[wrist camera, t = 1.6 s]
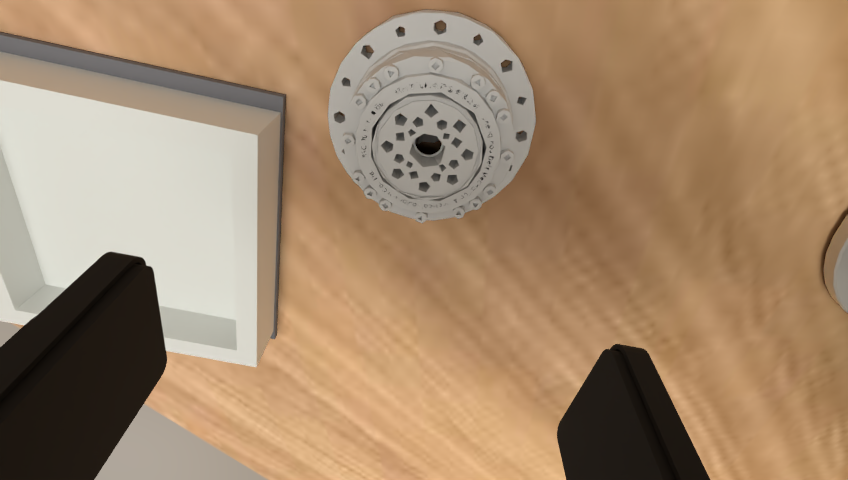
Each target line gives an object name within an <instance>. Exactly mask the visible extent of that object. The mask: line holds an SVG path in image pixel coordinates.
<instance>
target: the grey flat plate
mask: <svg viewBox="0 0 848 480" xmlns="http://www.w3.org/2000/svg"><path fill="white" fill-rule="evenodd" d="M0 52H5V53H10V54H14V55H19V56H23V57H28V58H33V59H37V60H42V61H46V62H51V63H56V64H60V65H65V66H69V67H74V68H79V69H83V70H88V71H92V72H97V73H102V74H106V75H111V76H115V77H120V78H125V79H129V80H134V81H138V82H143V83H148V84H152V85H157V86H161V87H166V88H170V89H175V90H180V91H184V92H189V93H193V94H198V95H203V96H207V97H212V98H216V99H221V100H226V101H230V102H235V103H239V104H244V105H249V106H253V107H258V108H262V109H267V110H272V111H276V112H281V119H280V149H279V180H278V211H277V241H276V272H275V303H274V331H273V333H272V335H271V337H270V338H271V339H275V338H276V335H277V312H278V286H279V260H280V233H281V207H282V181H283V155H284V128H285V102H286V95H284V94H280V93H275V92H271V91H266V90H262V89H257V88H253V87H248V86H243V85H239V84H234V83H230V82H225V81H221V80H216V79H212V78H207V77H203V76H198V75H193V74H189V73H184V72H180V71H175V70H171V69H166V68H162V67H157V66H153V65H148V64H143V63H139V62H134V61H130V60H125V59H121V58H116V57H112V56H107V55H103V54H98V53H94V52H89V51H84V50H80V49H75V48H71V47H66V46H62V45H57V44H53V43H48V42H44V41H39V40H34V39H30V38H25V37H21V36H16V35H12V34H7V33H3V32H0Z"/></svg>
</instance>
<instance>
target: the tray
mask: <svg viewBox="0 0 848 480" xmlns="http://www.w3.org/2000/svg"><path fill="white" fill-rule="evenodd" d="M280 119H281V112H276V111H272V110H267V109H262V108H258V107H253V106H249V105H244V104H239V103H235V102H230V101H226V100H221V99H216V98H212V97H207V96H203V95H198V94H193V93H189V92H184V91H180V90H175V89H170V88H166V87H161V86H157V85H152V84H148V83H143V82H138V81H134V80H129V79H125V78H120V77H115V76H111V75H106V74H102V73H97V72H92V71H88V70H83V69H79V68H74V67H69V66H65V65H60V64H56V63H51V62H46V61H42V60H37V59H33V58H28V57H23V56H19V55H14V54H10V53H5V52H0V321H4V322H9V323H15V324H20V325H25V324H27V323H28V322H29V321H30V320H31V319H33V318H34V317H35V316H37V315H38V314H39V313H40V312H41V311H42V310H44V309H45V308H46V307H47V306H48V305H49V304H50V303H51V302H52V301H53V300H54V299H56V298H57V297H58V296H59V295H60V294H61V293H62V292H63V291H64V290H65V289H66V288H67V287H69V286H70V285H71V284H72V283H73V282H74V281H75V280H76V279H77V278H78V277H79V276H81V275H82V274H83V273H84V272H85V271H86V270H87V269H88V268H89V267H90V266H91V265H93V264H94V263H95V262H96V261H97V260H98V259H99V258H100V257H101V256H102V255H104V254H105V253H107V252H116V253H122V254H127V255H133V256H138V257H142V258H143V259H144V260H145V262H146V266H150V267H152V268H153V271H154V277H155V283H156V290H157V296H158V303H159V309H160V316H161V322H162V329H163V335H164V342H165V348H166V351H169V352H175V353H181V354H186V355H192V356H197V357H203V358H208V359H214V360H219V361H225V362H230V363H236V364H241V365H247V366H252V367H257V365H258V363H259V361H260V359H261V357H262V355H263V352H264V350H265V348H266V346H267V344H268V342H269V340H270V337H271V335H272V333H273V331H274V303H275V272H276V241H277V211H278V180H279V149H280Z"/></svg>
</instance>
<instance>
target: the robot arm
mask: <svg viewBox="0 0 848 480" xmlns="http://www.w3.org/2000/svg"><path fill="white" fill-rule="evenodd" d="M823 271H824V278H825V285H826V287H827V289H828V291H829V293H830V295H831V297H832V298H833V299H834V300H835V301H836V302H837V303H838V304H839V305H840V306H841V307H842V308H843V309H844V310H845V311H846V312H847V313H848V215H847V216H846V217H845V219H844V220H843V222H842V223H841V225H840V226H839V228H838V229H837V231H836V232H835V234H834V235H833V238H832V240H831V243H830V245H829V247H828V250H827V252H826V257H825V263H824V269H823ZM166 363H167V355H166V348H165V342H164V335H163V329H162V322H161V316H160V309H159V303H158V296H157V290H156V283H155V277H154V271H153V268H152V267H150V266H146V262H145V260H144V259H143V258H142V257H138V256H133V255H127V254H122V253H116V252H107V253H105V254H104V255H102V256H101V257H100V258H99V259H98V260H97V261H96V262H95V263H94V264H93V265H91V266H90V267H89V268H88V269H87V270H86V271H85V272H84V273H83V274H82V275H81V276H79V277H78V278H77V279H76V280H75V281H74V282H73V283H72V284H71V285H70V286H69V287H67V288H66V289H65V290H64V291H63V292H62V293H61V294H60V295H59V296H58V297H57V298H56V299H54V300H53V301H52V302H51V303H50V304H49V305H48V306H47V307H46V308H45V309H44V310H42V311H41V312H40V313H39V314H38V315H37V316H35V317H34V318H33V319H31V320H30V321H29V322H28V323H27V324H25V325H24V326H23V327H22V328H21V329H20V330H19V331H18V332H17V333H16V334H15V335H14V336H12V337H11V338H10V339H9V340H8V341H7V342H6V343H5V344H4V345H3V346H2V347H0V480H94V479H95V477H96V476H97V474H98V473H99V471H100V470H101V468H102V466H103V465H104V464H105V462H106V461H107V459H108V457H109V456H110V454H111V453H112V451H113V449H114V448H115V446H116V445H117V444H118V442H119V441H120V439H121V438H122V436H123V434H124V433H125V431H126V430H127V428H128V427H129V425H130V424H131V422H132V421H133V419H134V418H135V416H136V415H137V413H138V411H139V410H140V408H141V407H142V405H143V404H144V402H145V401H146V399H147V398H148V396H149V395H150V393H151V391H152V390H153V388H154V387H155V385H156V384H157V382H158V381H159V379H160V378H161V376H162V374H163V372H164V370H165V367H166ZM557 438H558V444H559V448H560V453H561V457H562V462H563V466H564V471H565V475H566V480H710V478H709V476H708V474H707V472H706V470H705V468H704V466H703V464H702V462H701V460H700V458H699V456H698V454H697V452H696V450H695V448H694V446H693V443H692V441H691V439H690V437H689V435H688V433H687V431H686V429H685V427H684V425H683V423H682V421H681V419H680V417H679V415H678V413H677V411H676V409H675V407H674V405H673V403H672V401H671V399H670V397H669V394H668V392H667V390H666V388H665V386H664V384H663V382H662V380H661V378H660V376H659V374H658V372H657V370H656V368H655V366H654V364H653V362H652V360H651V358H650V356H649V354H648V353H647V351H646V350H644V349H642V348H637V347H631V346H626V345H620V344H615V345H613V346H612V347H611V349H610V350H609V349H606V350H604V351H603V352H602V354H601V355H600V357H599V359H598V360H597V362H596V364H595V365H594V367H593V369H592V370H591V372H590V374H589V375H588V377H587V378H586V380H585V382H584V383H583V385H582V387H581V388H580V390H579V392H578V393H577V395H576V397H575V398H574V400H573V402H572V403H571V405H570V406H569V408H568V410H567V411H566V413H565V415H564V416H563V418H562V420H561V421H560V423H559V426H558V431H557Z"/></svg>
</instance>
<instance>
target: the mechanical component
mask: <svg viewBox="0 0 848 480" xmlns="http://www.w3.org/2000/svg"><path fill="white" fill-rule="evenodd" d="M440 20H442V21H444V22H445V23H446V28H445V29H444V30H443V31H441V30H437V29H436V27H435V22H438V21H440ZM399 26H401V27H403V28H405V33H403V32H399V28H398V27H399ZM478 34H480V35H481V39H480V40H475V41H474V37H475V36H477V35H478ZM365 45H370V46H371V48H372V49H373V50H374V53H368V52H366V48H365ZM506 59H507V60H510V61H511V63H510V64H509V65H508V66H507V67H501V63H502V62H503V61H505V60H506ZM347 78H348V79H350V81H349V80H347ZM519 96H520V97H522V98H519ZM339 111H340V112H342V113H343V114H345V117H344V116H343V115H341V114H339ZM400 113H401V114H402V115H403V116H400ZM458 120H461V121H458ZM328 121H329V130H330V137H331V140H332V143H333V146H334V149H335V152H336V155H337V157H338V158H339V160H340V162H341V163H342V165H343V167H344V169H345V170H346V172H347V173H348V174H349V176H350V177H351V178H352V180H353V181H354V182H355V183H356V184H358V186H359V187H360V188H361V189H362V190H363V191H364V194H365V196H366V198H368V199H373V200H374V201H376V202H377V203H379V207H380V208H381V210H384V211H388V210H389V211H390V212H393V213H396V214H399V215H402V216H405V217H408V218H412V219H416V221H417V222H420V223H423V222H425V221H426V220H433V221H434V220H440V219H447V218H453V217H456V218H458V219H459V218H463V216H464V214H465V213H466V212H469V211H471V210H478V209H479V208H481V205H482V203H484V202H486V201H488V200H489V199H491V198H493V197H494V196H495V195H497V194H498V193H499V192H500V191H501V190H502V189H503V188H504V187H505V186H506V185H508V184H509V183H510V182H511V181H512V180H513V178H514V177H515V175H516V173H517V172H518V170H519V168H520V167H521V165H522V164H523V162H524V160H525V159H526V157H527V155H528V152H529V148H530V144H531V140H532V136H533V132H534V128H535V124H536V116H535V106H534V96H533V89H532V86H531V84H530V81H529V79H528V76H527V74H526V71H525V69H524V66H523V64H522V63H521V61H520V60H519V58H518V57H517V56H516V54H515V53H514V52H513V51H512V49H511V48H510V47H509V46H508V44H507V43H506V42H505V41H504V39H503V38H502V37H501V36H499V35H498V34H497V33H496V32H494V31H493V30H492V29H491V28H489V27H488V26H487V25H486V24H483V23H481V22H479V21H477V20H474V19H472V18H470V17H468V16H466V15H463V14H461V13H458V12H448V11H438V10H428V9H425V10H420V11H415V12H410V13H405V14H400V15H395V16H393V17H391V18H390V19H388V20H386V21H385V22H383V23H382V24H380V25H379V26H377V27H376V28H374V29H373V30H371V31H370V32H368V33H366V34H365V35H364V36H363V37H362V38H361V39H360V40H359V41H358V42H357V43H356V44H355V45H354V47H353V48H352V49H351V51H350V52H349V53H348V55H347V56H346V57H345V59H344V60H343V61H342V63H341V65H340V67H339V70H338V72H337V74H336V77H335V79H334V81H333V84H332V86H331V89H330V98H329V107H328ZM522 130H523V132H522V133H521V134H518V133H517V132H520V131H522ZM437 139H439V140H440V141H441V142H442V145H441V148H440V150H439V151H438V152H436V153H435V154H423V153H421V152H420V151H419V150H418V149H417V147H416V144H415V142H416V143H417V144H418V145H419V144H420V143H421V142H431V143H434V142H437V141H439V140H437ZM412 143H413V144H412Z"/></svg>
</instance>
